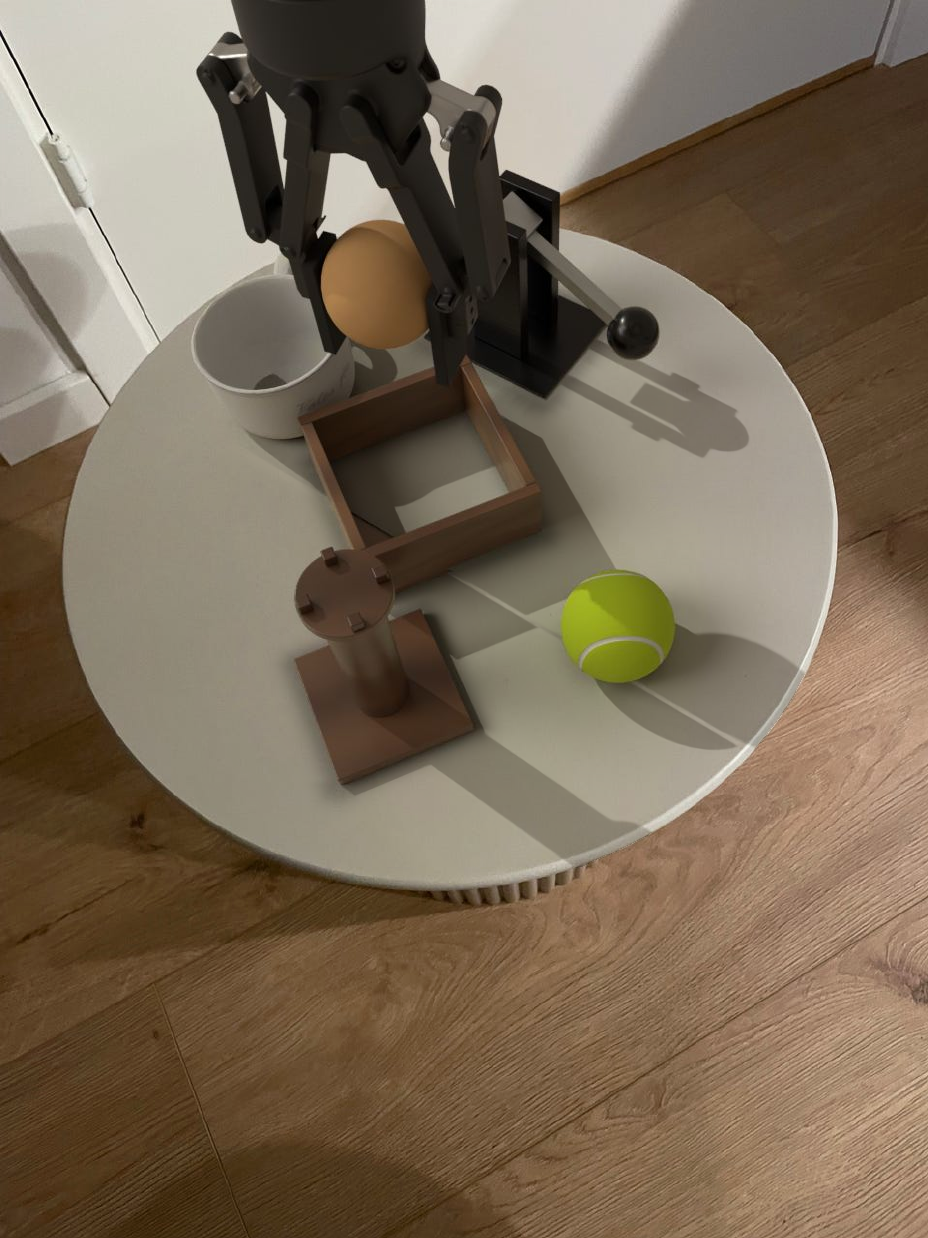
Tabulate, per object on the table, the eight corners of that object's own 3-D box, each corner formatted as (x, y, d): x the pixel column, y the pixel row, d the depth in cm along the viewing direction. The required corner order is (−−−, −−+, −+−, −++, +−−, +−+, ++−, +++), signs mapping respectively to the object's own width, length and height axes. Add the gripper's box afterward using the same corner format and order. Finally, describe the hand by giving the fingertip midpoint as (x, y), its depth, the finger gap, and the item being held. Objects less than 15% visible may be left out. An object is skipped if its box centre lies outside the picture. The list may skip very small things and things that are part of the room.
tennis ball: (673, 697, 63) (687, 651, 57) (563, 701, 64) (565, 656, 57) (662, 600, 66) (674, 546, 60) (557, 604, 67) (558, 551, 60)
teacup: (335, 471, 73) (312, 401, 66) (199, 444, 75) (163, 373, 68) (392, 329, 79) (377, 250, 71) (265, 307, 81) (238, 228, 73)
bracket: (608, 328, 77) (619, 191, 66) (543, 407, 74) (544, 277, 63) (491, 273, 80) (483, 134, 69) (425, 346, 78) (405, 213, 66)
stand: (474, 731, 63) (455, 624, 49) (341, 787, 62) (284, 693, 48) (422, 616, 67) (392, 487, 53) (296, 666, 66) (232, 548, 52)
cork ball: (466, 349, 55) (458, 258, 49) (356, 390, 54) (334, 302, 48) (423, 271, 57) (410, 176, 52) (317, 308, 57) (292, 216, 51)
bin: (542, 537, 69) (542, 491, 64) (372, 605, 68) (358, 562, 62) (472, 407, 75) (467, 353, 69) (314, 466, 73) (296, 416, 68)
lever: (653, 345, 71) (678, 321, 68) (627, 378, 70) (651, 356, 67) (503, 209, 70) (521, 178, 66) (473, 241, 68) (490, 211, 65)
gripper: (598, -94, 36) (576, 346, 57) (144, -167, 40) (277, 266, 61) (523, 32, 33) (529, 448, 54) (42, -61, 37) (218, 356, 58)
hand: (395, 351), depth 57 cm, fingers closed on cork ball, 6 cm apart
